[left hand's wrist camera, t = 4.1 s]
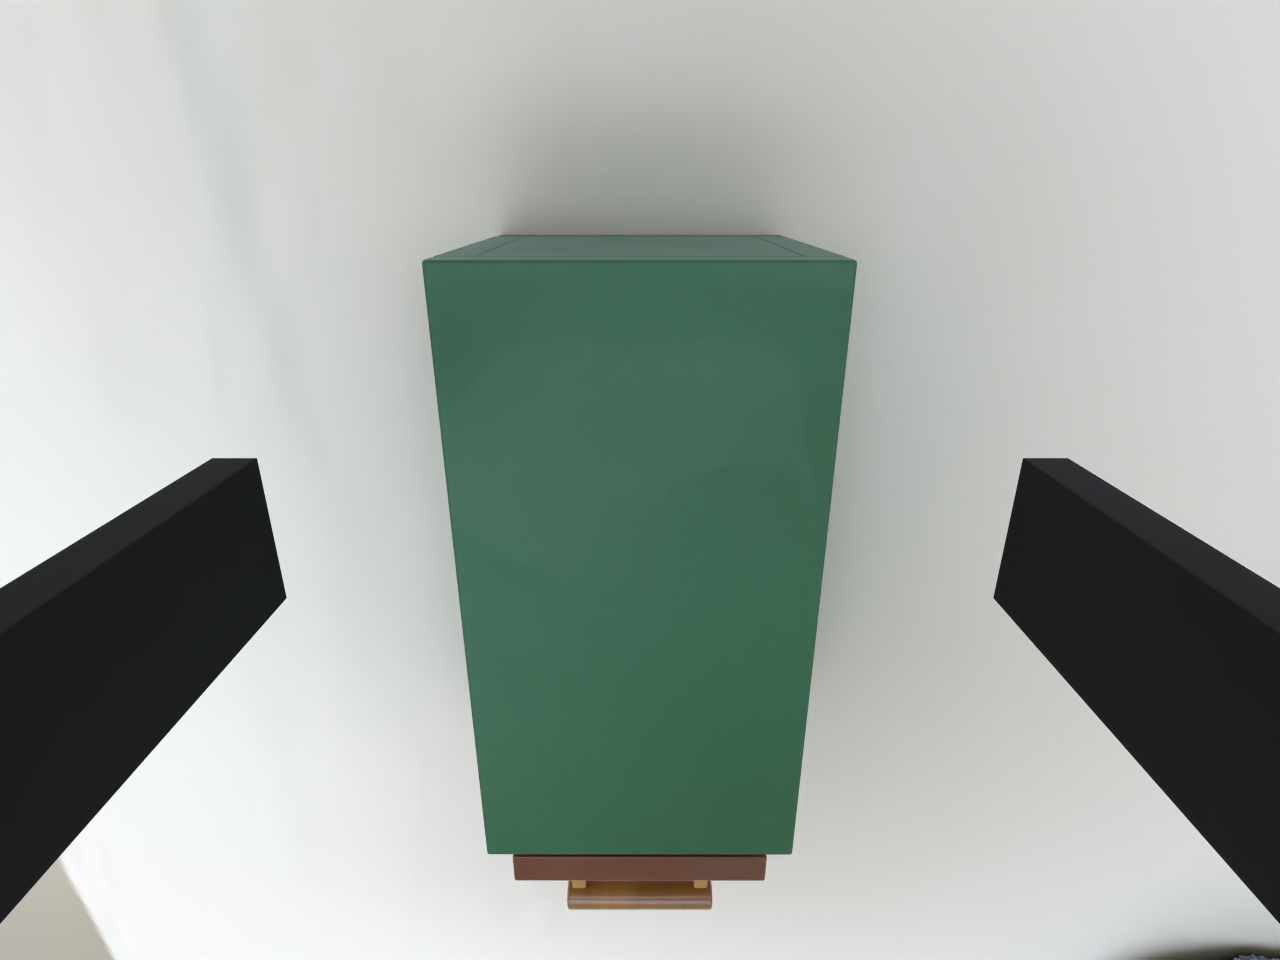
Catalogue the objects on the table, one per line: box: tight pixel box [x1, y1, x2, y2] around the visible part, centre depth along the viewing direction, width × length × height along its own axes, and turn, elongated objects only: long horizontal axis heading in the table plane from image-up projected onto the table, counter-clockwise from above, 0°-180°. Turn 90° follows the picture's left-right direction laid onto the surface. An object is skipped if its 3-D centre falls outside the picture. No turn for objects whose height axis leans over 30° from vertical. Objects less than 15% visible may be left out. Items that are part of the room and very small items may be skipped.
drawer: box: [513, 854, 767, 910], centre depth 27 cm, size 24×9×8 cm, turn 0°
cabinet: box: [422, 235, 857, 854], centre depth 25 cm, size 19×10×10 cm, turn 0°
